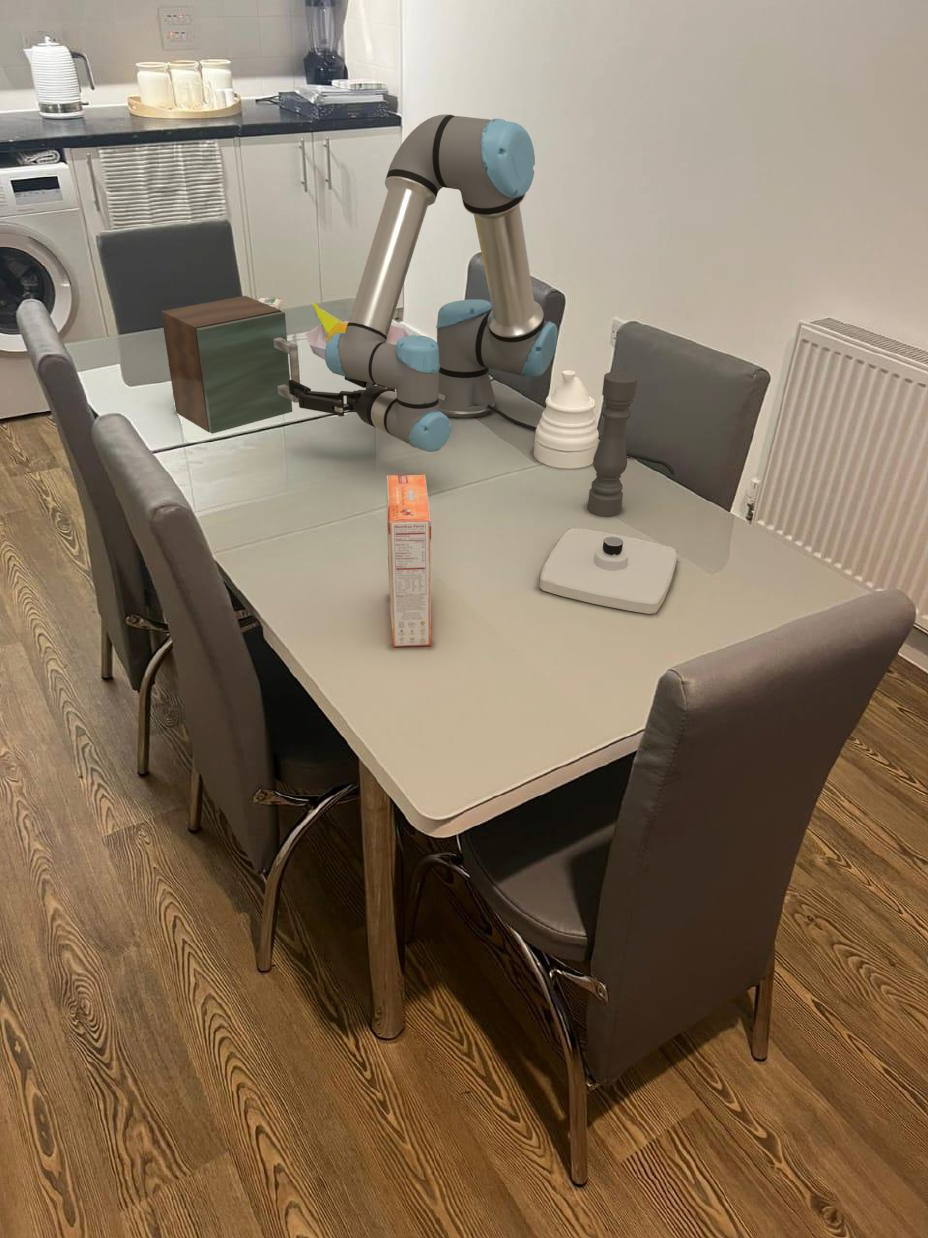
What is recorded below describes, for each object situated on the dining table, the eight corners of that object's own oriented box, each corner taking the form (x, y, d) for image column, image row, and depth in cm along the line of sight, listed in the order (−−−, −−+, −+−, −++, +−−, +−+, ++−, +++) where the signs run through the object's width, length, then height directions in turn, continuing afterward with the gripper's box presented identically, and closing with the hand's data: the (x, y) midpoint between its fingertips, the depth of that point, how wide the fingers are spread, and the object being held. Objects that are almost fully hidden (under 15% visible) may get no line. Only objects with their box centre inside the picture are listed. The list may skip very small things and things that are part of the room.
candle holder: (623, 504, 174) (642, 373, 160) (617, 519, 169) (635, 385, 155) (591, 498, 176) (606, 368, 162) (583, 513, 171) (599, 380, 157)
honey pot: (579, 474, 185) (588, 385, 175) (522, 458, 190) (528, 371, 180) (606, 452, 194) (617, 367, 184) (551, 437, 199) (558, 354, 189)
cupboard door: (310, 421, 202) (304, 320, 190) (229, 444, 191) (217, 338, 179) (289, 410, 207) (281, 311, 195) (209, 432, 196) (195, 328, 184)
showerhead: (532, 591, 148) (658, 619, 142) (535, 557, 144) (664, 584, 139) (565, 535, 163) (680, 558, 158) (569, 503, 160) (686, 526, 155)
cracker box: (388, 596, 145) (385, 472, 134) (426, 595, 146) (427, 472, 134) (389, 648, 134) (387, 519, 122) (431, 647, 134) (433, 518, 123)
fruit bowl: (431, 364, 236) (431, 319, 229) (335, 383, 222) (333, 336, 216) (375, 335, 254) (374, 292, 248) (284, 350, 241) (281, 306, 235)
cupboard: (289, 410, 208) (281, 310, 195) (208, 432, 196) (195, 327, 184) (254, 392, 216) (245, 295, 204) (175, 412, 204) (160, 310, 192)
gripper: (331, 444, 172) (267, 410, 184) (433, 413, 186) (367, 384, 199) (329, 405, 167) (264, 373, 180) (434, 376, 182) (367, 349, 195)
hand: (318, 379), depth 189 cm, fingers open, 13 cm apart
